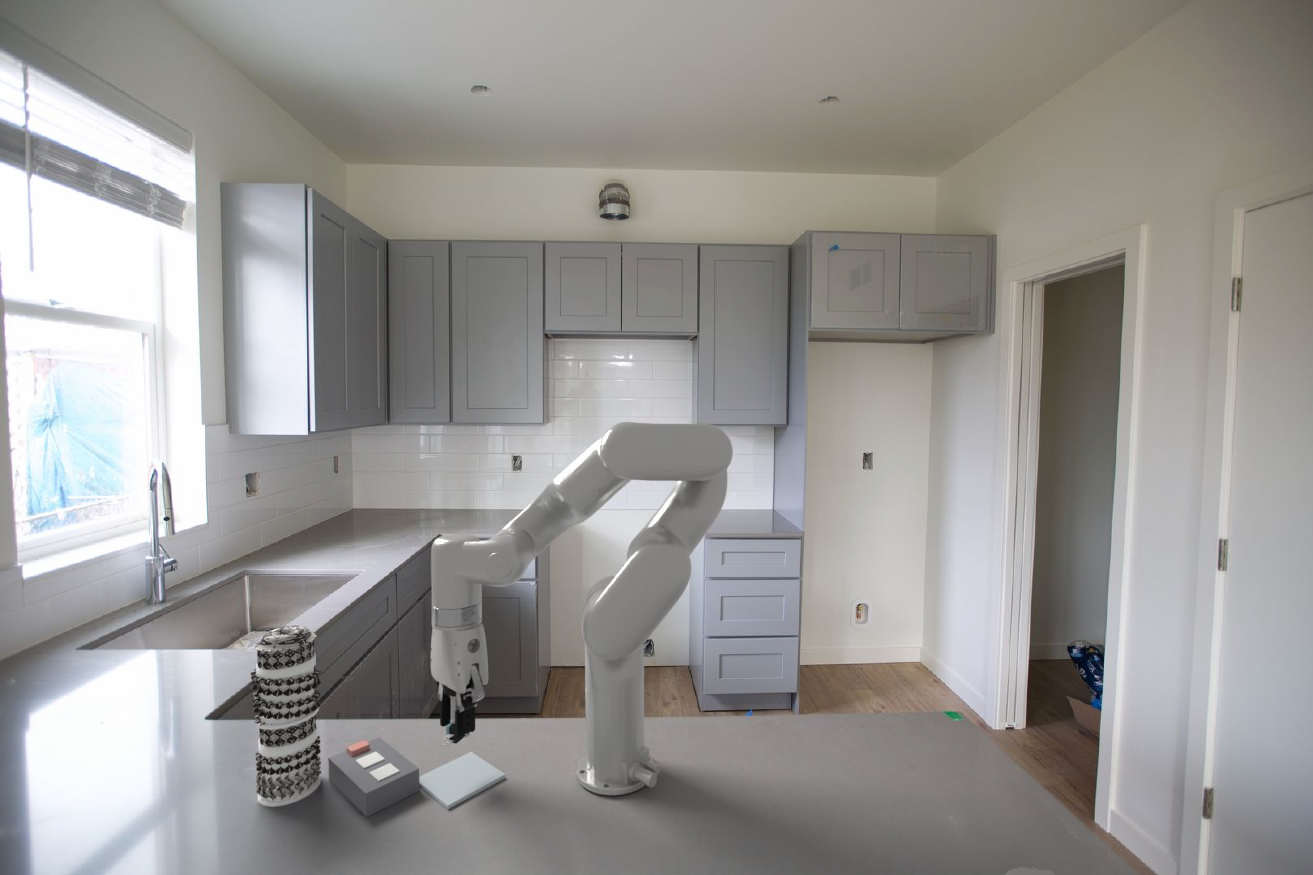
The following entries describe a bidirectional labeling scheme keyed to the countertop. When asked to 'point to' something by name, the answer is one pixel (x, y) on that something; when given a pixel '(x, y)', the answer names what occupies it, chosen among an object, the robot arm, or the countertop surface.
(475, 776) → the pale blue mat
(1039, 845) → the countertop surface
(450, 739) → the push button
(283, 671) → the decorative candle
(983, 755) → the countertop surface
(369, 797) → the power strip
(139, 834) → the countertop surface
